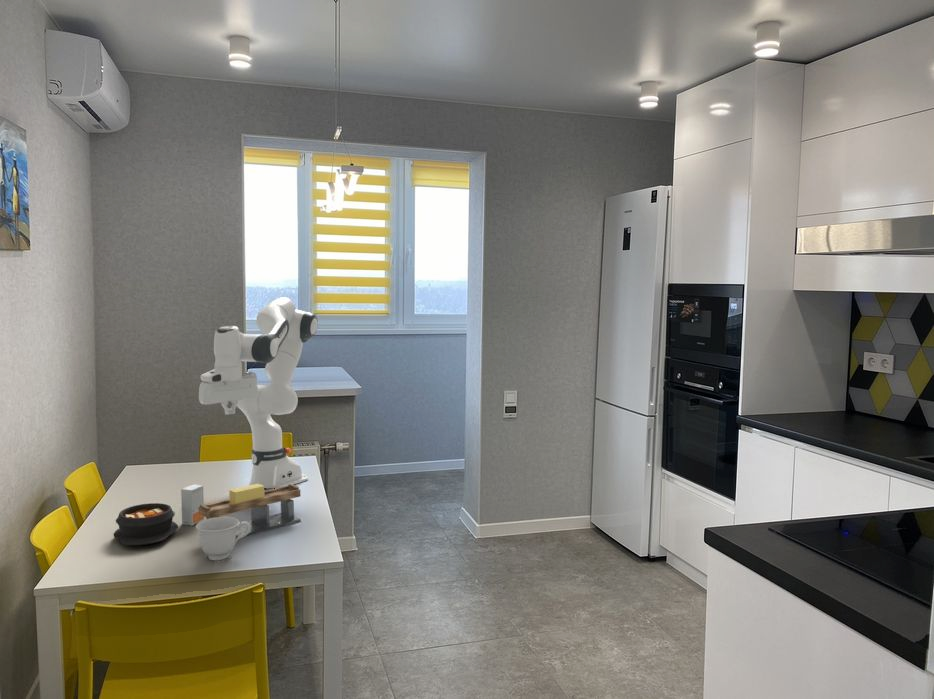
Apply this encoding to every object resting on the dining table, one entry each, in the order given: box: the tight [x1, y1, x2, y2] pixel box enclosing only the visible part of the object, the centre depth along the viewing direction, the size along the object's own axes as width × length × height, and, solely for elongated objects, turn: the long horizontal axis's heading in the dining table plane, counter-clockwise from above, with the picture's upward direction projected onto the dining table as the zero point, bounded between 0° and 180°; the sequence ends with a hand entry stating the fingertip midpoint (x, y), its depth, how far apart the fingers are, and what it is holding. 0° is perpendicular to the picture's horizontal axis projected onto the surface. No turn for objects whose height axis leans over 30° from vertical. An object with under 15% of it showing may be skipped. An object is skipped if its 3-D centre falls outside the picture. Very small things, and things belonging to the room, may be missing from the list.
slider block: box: [228, 484, 265, 505], centre depth 230 cm, size 10×4×4 cm, turn 135°
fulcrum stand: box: [205, 499, 302, 538], centre depth 232 cm, size 30×10×8 cm, turn 135°
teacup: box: [195, 516, 250, 561], centre depth 209 cm, size 12×15×10 cm
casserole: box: [113, 502, 179, 546], centre depth 225 cm, size 25×19×8 cm
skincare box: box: [180, 484, 205, 526], centre depth 237 cm, size 6×4×12 cm
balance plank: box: [198, 484, 302, 519], centre depth 231 cm, size 32×7×3 cm, turn 135°
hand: (230, 413), depth 245 cm, fingers closed
